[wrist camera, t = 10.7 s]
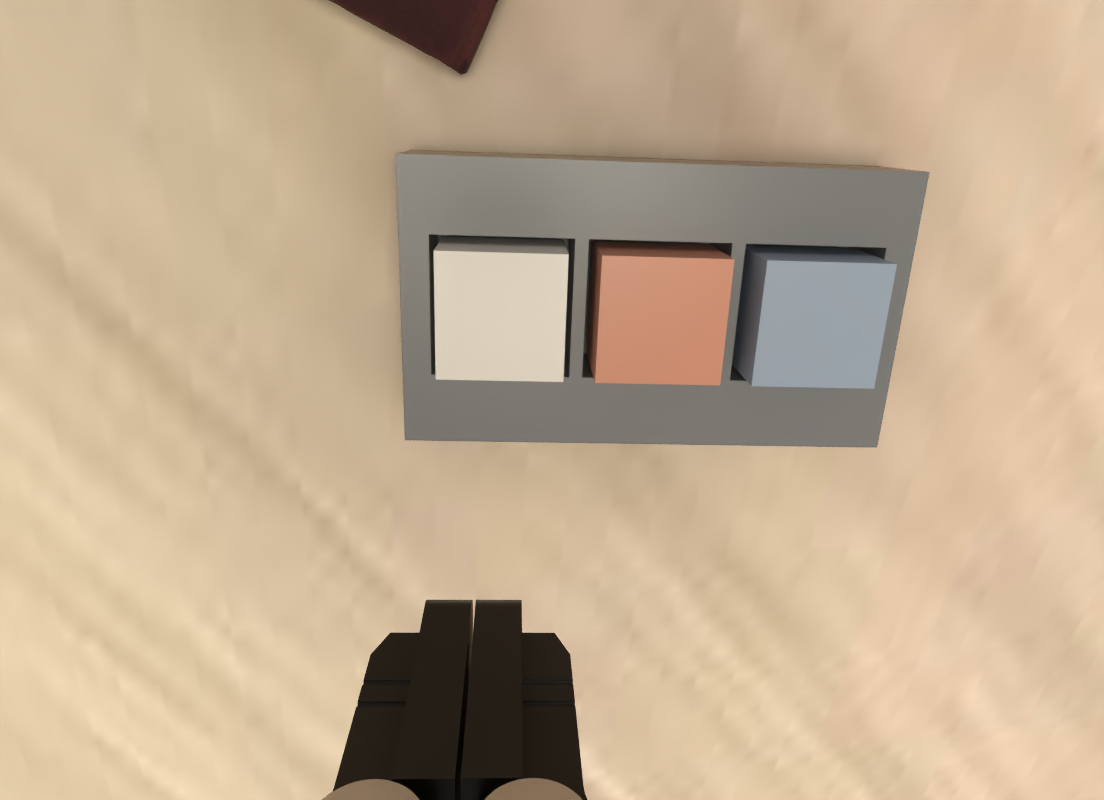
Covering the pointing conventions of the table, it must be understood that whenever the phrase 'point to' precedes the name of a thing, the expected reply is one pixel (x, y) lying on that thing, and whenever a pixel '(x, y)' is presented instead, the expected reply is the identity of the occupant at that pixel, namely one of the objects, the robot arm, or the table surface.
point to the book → (430, 25)
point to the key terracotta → (658, 312)
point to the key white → (500, 309)
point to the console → (643, 216)
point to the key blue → (811, 316)
